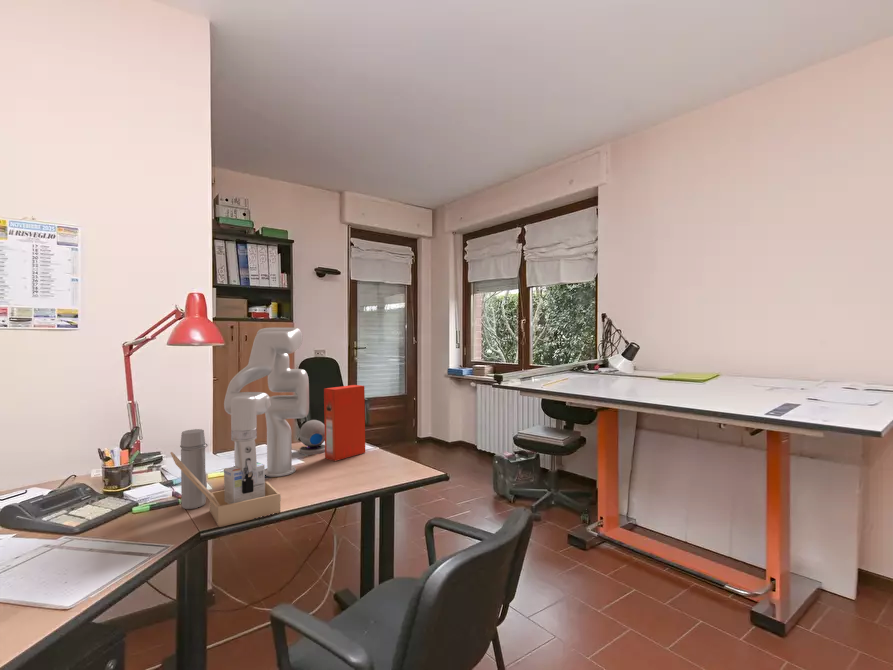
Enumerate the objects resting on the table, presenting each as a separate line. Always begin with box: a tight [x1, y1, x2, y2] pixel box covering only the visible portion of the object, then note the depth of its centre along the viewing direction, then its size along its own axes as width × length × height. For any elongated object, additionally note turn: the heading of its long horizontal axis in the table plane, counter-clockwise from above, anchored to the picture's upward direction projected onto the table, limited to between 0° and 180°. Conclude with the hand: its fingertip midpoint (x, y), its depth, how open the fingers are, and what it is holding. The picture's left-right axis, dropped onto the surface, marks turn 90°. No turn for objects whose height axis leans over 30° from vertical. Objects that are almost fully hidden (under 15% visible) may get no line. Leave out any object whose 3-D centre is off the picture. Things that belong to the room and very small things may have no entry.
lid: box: [170, 451, 218, 507], centre depth 137 cm, size 15×18×1 cm
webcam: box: [298, 419, 325, 455], centre depth 219 cm, size 13×13×15 cm
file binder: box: [323, 384, 366, 462], centre depth 210 cm, size 8×17×32 cm, turn 141°
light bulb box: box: [223, 461, 266, 504], centre depth 145 cm, size 11×7×11 cm, turn 140°
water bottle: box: [179, 428, 208, 510], centre depth 150 cm, size 9×8×25 cm
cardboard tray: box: [209, 481, 282, 528], centre depth 145 cm, size 15×18×6 cm
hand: (244, 488), depth 145 cm, fingers closed on light bulb box, 7 cm apart
